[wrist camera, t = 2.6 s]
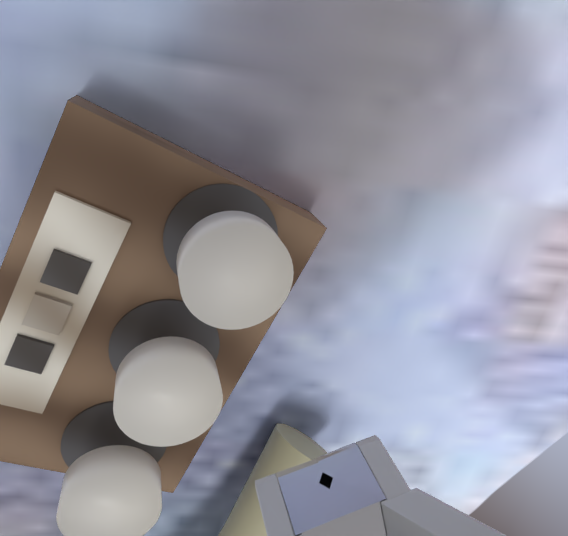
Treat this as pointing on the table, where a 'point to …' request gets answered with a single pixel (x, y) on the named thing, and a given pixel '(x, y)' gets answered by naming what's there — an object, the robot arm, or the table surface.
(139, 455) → the inner button
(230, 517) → the flower vase
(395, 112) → the table surface
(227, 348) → the button board
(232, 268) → the outer button
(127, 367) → the middle button
